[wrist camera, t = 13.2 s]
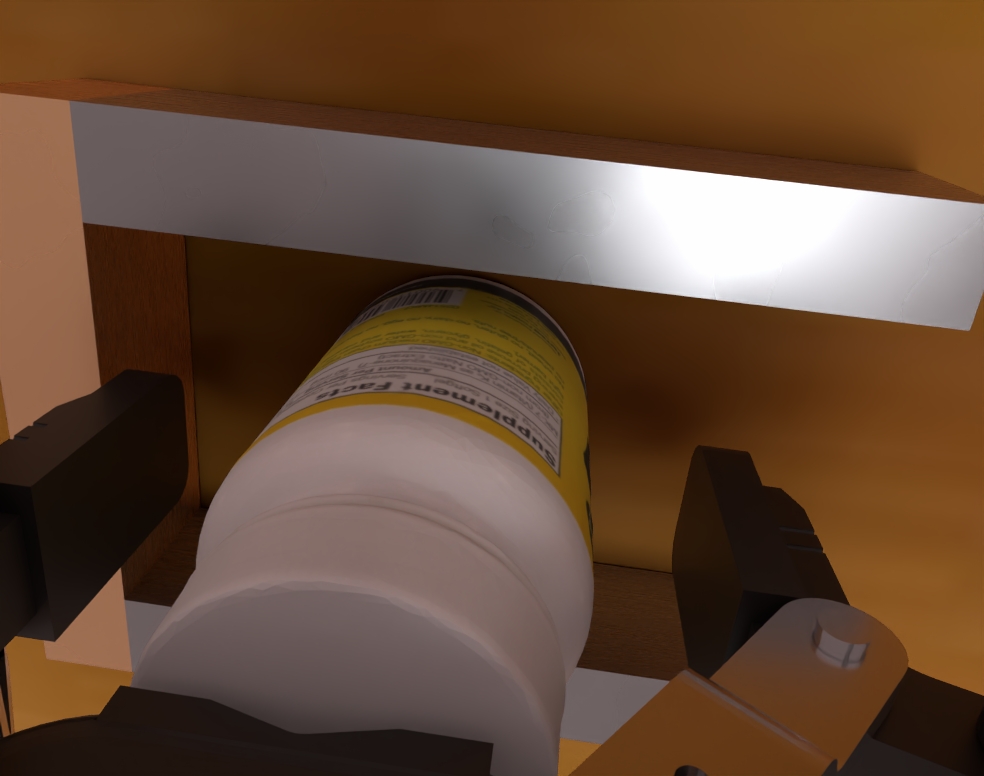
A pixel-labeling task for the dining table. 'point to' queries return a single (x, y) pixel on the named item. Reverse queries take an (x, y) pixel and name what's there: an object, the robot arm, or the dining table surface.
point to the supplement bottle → (404, 536)
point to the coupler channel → (424, 240)
